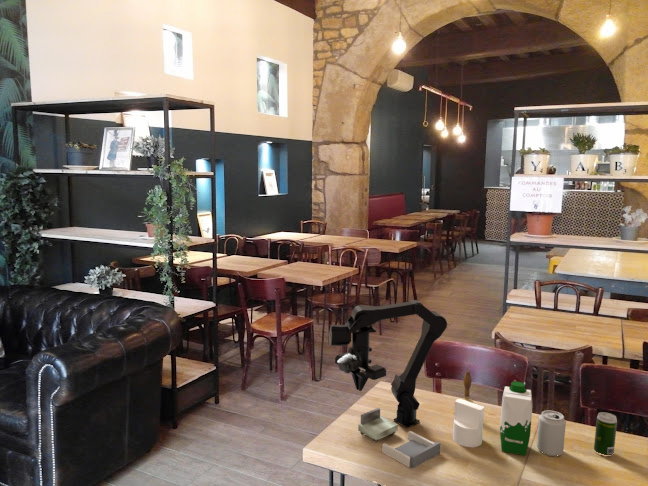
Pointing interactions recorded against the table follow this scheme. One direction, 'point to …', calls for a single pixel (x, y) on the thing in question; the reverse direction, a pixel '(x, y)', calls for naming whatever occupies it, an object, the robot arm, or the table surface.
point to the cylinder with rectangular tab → (468, 423)
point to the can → (551, 433)
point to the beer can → (605, 433)
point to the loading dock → (413, 450)
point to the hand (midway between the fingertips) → (359, 390)
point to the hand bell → (467, 386)
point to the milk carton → (516, 418)
